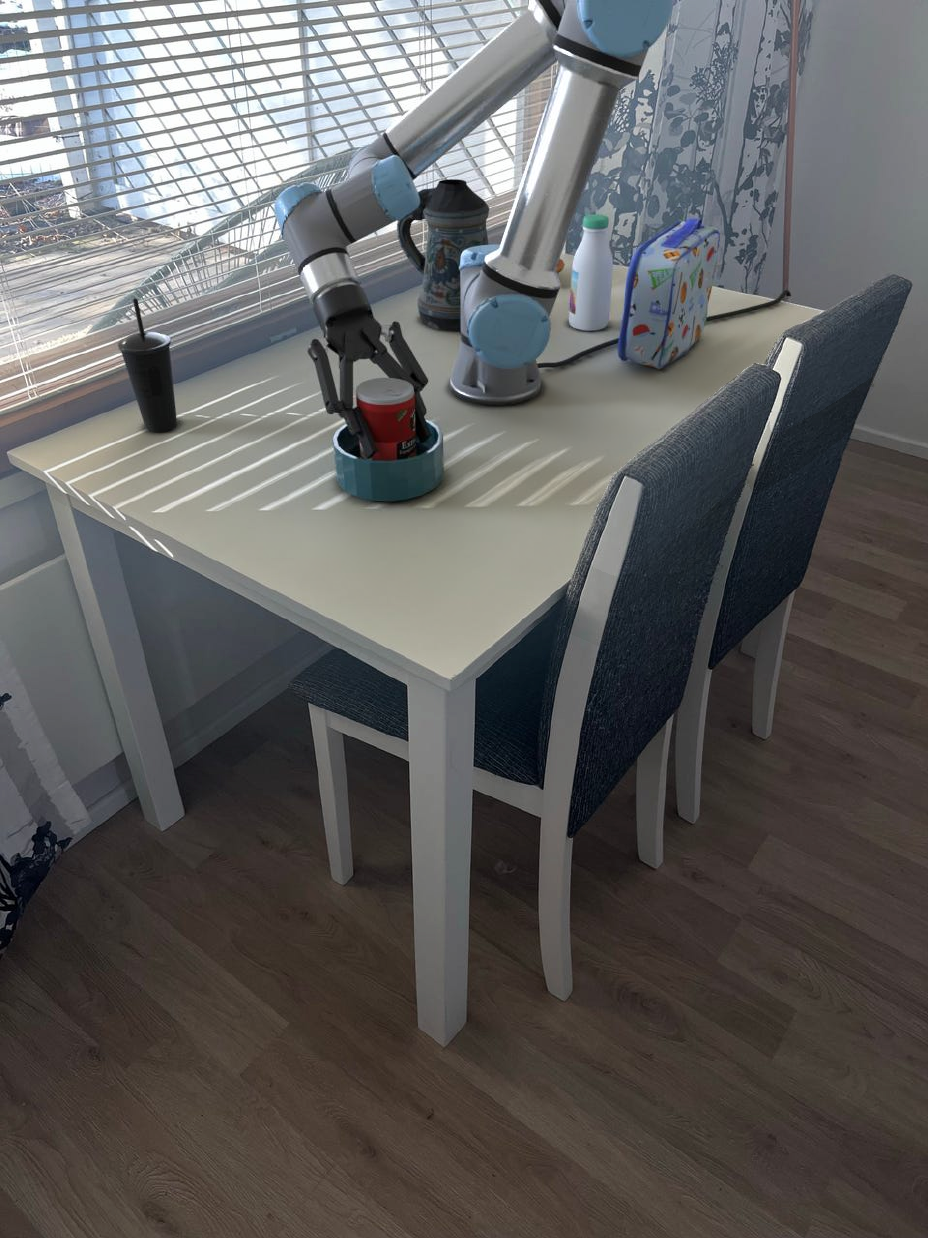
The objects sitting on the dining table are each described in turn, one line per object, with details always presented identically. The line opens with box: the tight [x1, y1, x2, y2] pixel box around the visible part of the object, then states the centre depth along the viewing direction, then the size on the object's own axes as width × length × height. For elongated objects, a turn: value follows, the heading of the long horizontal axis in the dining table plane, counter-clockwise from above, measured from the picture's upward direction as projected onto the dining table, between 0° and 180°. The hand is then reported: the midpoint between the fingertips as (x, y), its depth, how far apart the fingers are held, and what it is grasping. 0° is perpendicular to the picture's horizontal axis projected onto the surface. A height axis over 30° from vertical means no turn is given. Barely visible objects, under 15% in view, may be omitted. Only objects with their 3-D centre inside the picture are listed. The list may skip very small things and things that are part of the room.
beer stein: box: [396, 178, 490, 332], centre depth 183 cm, size 16×19×25 cm
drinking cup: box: [117, 298, 178, 433], centre depth 146 cm, size 8×8×20 cm
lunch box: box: [617, 217, 721, 370], centre depth 170 cm, size 28×10×22 cm, turn 152°
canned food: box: [355, 377, 416, 461], centre depth 133 cm, size 8×8×11 cm
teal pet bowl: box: [332, 418, 445, 502], centre depth 136 cm, size 15×15×6 cm
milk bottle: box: [568, 213, 614, 332], centre depth 181 cm, size 8×8×20 cm
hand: (399, 446), depth 132 cm, fingers closed on canned food, 8 cm apart
